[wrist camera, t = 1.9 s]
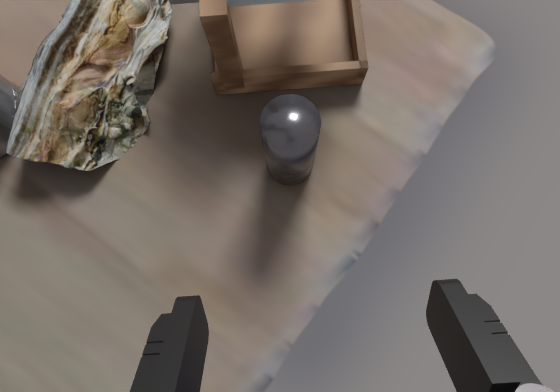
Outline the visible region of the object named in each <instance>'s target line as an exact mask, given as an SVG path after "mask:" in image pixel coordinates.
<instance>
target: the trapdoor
mask: <svg viewBox="0 0 560 392" xmlns="http://www.w3.org/2000/svg"><path fill="white" fill-rule="evenodd" d="M168 1H169V3H170V4H182V3H195V2H199V0H168ZM299 1H312V0H227V2H228V7H235V6H248V5H261V4H274V3H287V2H299Z"/></svg>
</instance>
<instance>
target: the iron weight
mask: <svg viewBox="0 0 560 392" xmlns="http://www.w3.org/2000/svg"><path fill="white" fill-rule="evenodd" d="M320 127H321V118H320V114H319V111H318V109H317V108H316V106H315V105H314V104H313V103H312V102H311V101H310V100H309V99H307V98H305V97H303V96H301V95H297V94H284V95H280V96H278V97H276V98H274V99H272V100H271V101H270V102H268V103H267V105H266V106H265V107H264V109H263V110H262V113H261V116H260V130H261V135H262V140H263V145H264V149H265V154H266V159H267V163H268V168H269V171H270V174H271V175H272V177H273V178H274V179H275V180H276V181H278V182H279V183H281V184H284V185H296V184H299V183H301V182H303V181H304V180H306V179H307V178H308V176H309V175H310V173H311V171H312V167H313V162H314V157H315V152H316V147H317V142H318V137H319V132H320Z"/></svg>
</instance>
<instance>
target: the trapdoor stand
mask: <svg viewBox="0 0 560 392" xmlns="http://www.w3.org/2000/svg"><path fill="white" fill-rule="evenodd" d="M199 12H200V19H201V22H202V25H203V28H204V30H205V33H206V36H207V39H208V42H209V44H210V47H211V50H212V53H213V56H214V59H215V72H211V80H212V83H213V85H214V87H215V90H216V92H217V95H221V94H234V93H248V92H261V91H275V90H288V89H301V88H315V87H328V86H342V85H355V84H362V83H363V80H364V78H365V75H366V72H367V70H368V62H367V54H366V46H365V39H364V31H363V23H362V16H361V8H360V0H312V1H299V2H287V3H274V4H261V5H248V6H235V7H228V2H227V0H199Z"/></svg>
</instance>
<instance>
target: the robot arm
mask: <svg viewBox="0 0 560 392" xmlns="http://www.w3.org/2000/svg"><path fill="white" fill-rule="evenodd" d="M22 94H23V93H22V91H21V89H20V88H19V87H18V86H16V85H15V84H13V83H12V82H10V81H9V80H7V79H6V78H5V77H3V76H2V75H0V157H2V156H4V155H6V154H7V153H6V150H7V145H8V141H9V137H10V133H11V129H12V124H13V120H14V117H15V114H16V112H17V109H18V107H19V104H20V101H21V97H22ZM426 317H427V322H428V326H429V329H430V331H431V334H432V336H433V338H434V340H435V343H436V345H437V347H438V350H439V352H440V354H441V356H442V359H443V361H444V363H445V365H446V368H447V370H448V373H449V375H450V377H451V379H452V381H453V384H454V386H455V388H456V391H457V392H555V391H553V390H551V389H549V388H548V387H545V386H543V385H542V384H541V382H540V381H539V379H538V378H537V377H536V375H535V374H534V372H533V370H532V369H531V367H530V366H529V364H528V363H527V361H526V360H525V358H524V357H523V355H522V354H521V352H520V350H519V349H518V347H517V346H516V344H515V343H514V341H513V340H512V338H511V336H510V335H508V333H507V330H506V329H505V327H504V326H503V324H502V323H500V320H499V318H498V316H497V315H496V313H495V312H494V310H493V309H492V307H491V306H490V305H489V304H488V303H487V302H485V301H484V300H483V299H482V298H481V297H479V296H478V295H477V294H468V293H467V292H466V290H465V289H464V287H463V285H462V284H461V282H460V281H459V280H458V279H448V280H435V281H433V282H432V286H431V290H430V295H429V300H428V304H427V309H426ZM208 336H209V330H208V323H207V319H206V315H205V312H204V308H203V305H202V301H201V298H200V296H199V295H198V296H183V297H177V298H176V300H175V303H174V306H173V310H172V313H168V314H161V315H160V317H159V318H158V319H157V321H156V322H155V323H154V324H153V326H152V327H151V330H150V333H149V336H148V339H147V344H146V345H145V348H144V351H143V356H142V357H141V360H140V363H139V366H138V369H137V372H136V375H135V378H134V381H133V384H132V387H131V390H130V392H200V386H201V380H202V375H203V369H204V363H205V357H206V351H207V345H208Z"/></svg>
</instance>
